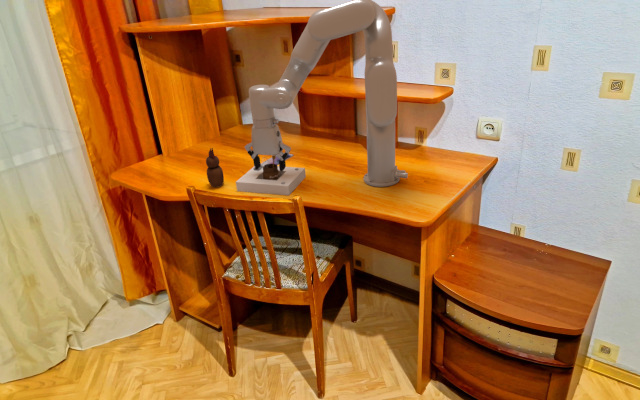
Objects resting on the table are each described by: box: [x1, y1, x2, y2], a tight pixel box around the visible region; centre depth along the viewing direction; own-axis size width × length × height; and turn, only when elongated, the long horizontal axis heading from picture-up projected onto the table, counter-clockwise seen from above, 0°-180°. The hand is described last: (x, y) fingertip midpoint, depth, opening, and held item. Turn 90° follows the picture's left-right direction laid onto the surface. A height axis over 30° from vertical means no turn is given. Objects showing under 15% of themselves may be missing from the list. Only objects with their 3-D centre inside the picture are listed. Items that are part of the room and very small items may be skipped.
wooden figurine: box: [205, 147, 225, 188], centre depth 163 cm, size 7×6×15 cm
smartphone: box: [260, 153, 294, 166], centre depth 185 cm, size 7×1×15 cm
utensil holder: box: [261, 155, 280, 180], centre depth 162 cm, size 6×6×12 cm
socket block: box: [235, 165, 307, 196], centre depth 163 cm, size 20×16×4 cm
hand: (270, 168), depth 162 cm, fingers open, 9 cm apart
